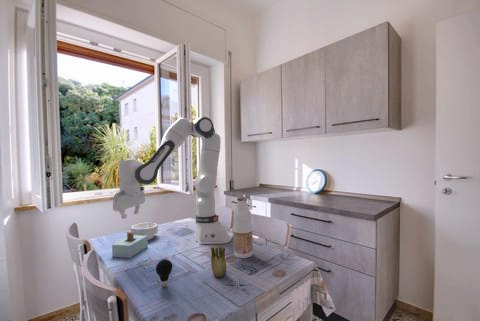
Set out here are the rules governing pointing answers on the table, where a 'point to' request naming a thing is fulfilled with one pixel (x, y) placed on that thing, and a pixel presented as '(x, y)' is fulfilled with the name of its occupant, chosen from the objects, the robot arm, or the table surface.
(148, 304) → the table surface
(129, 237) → the walnut peg
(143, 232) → the paper bowls
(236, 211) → the fruit juice
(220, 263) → the fennel bulb
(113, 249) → the hole block
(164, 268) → the light bulb
